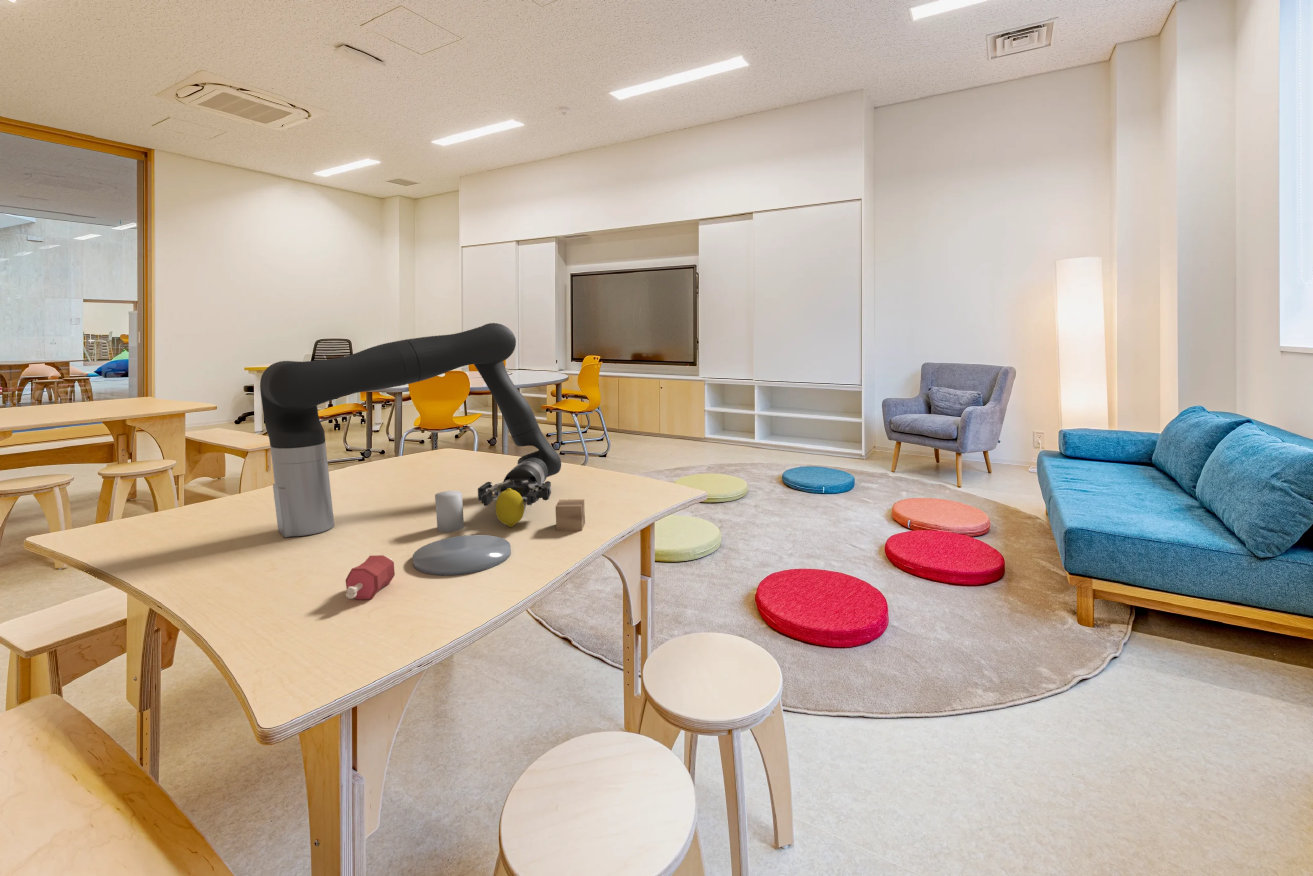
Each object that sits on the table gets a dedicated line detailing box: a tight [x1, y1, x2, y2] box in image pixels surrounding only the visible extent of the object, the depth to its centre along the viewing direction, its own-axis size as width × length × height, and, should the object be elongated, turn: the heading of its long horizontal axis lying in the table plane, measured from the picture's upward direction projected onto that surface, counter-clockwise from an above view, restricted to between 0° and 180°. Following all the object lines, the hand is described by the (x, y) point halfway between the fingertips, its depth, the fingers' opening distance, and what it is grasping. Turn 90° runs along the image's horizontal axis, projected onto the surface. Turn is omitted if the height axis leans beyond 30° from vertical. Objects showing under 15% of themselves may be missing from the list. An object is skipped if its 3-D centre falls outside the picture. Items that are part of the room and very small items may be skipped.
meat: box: [345, 554, 396, 600], centre depth 88 cm, size 12×5×5 cm, turn 178°
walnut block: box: [555, 498, 586, 532], centre depth 117 cm, size 5×5×5 cm
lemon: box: [495, 488, 525, 528], centre depth 117 cm, size 6×6×8 cm
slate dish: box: [412, 534, 512, 576], centre depth 102 cm, size 16×16×1 cm
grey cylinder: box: [434, 490, 465, 533], centre depth 117 cm, size 5×5×7 cm
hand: (507, 500), depth 115 cm, fingers open, 8 cm apart
